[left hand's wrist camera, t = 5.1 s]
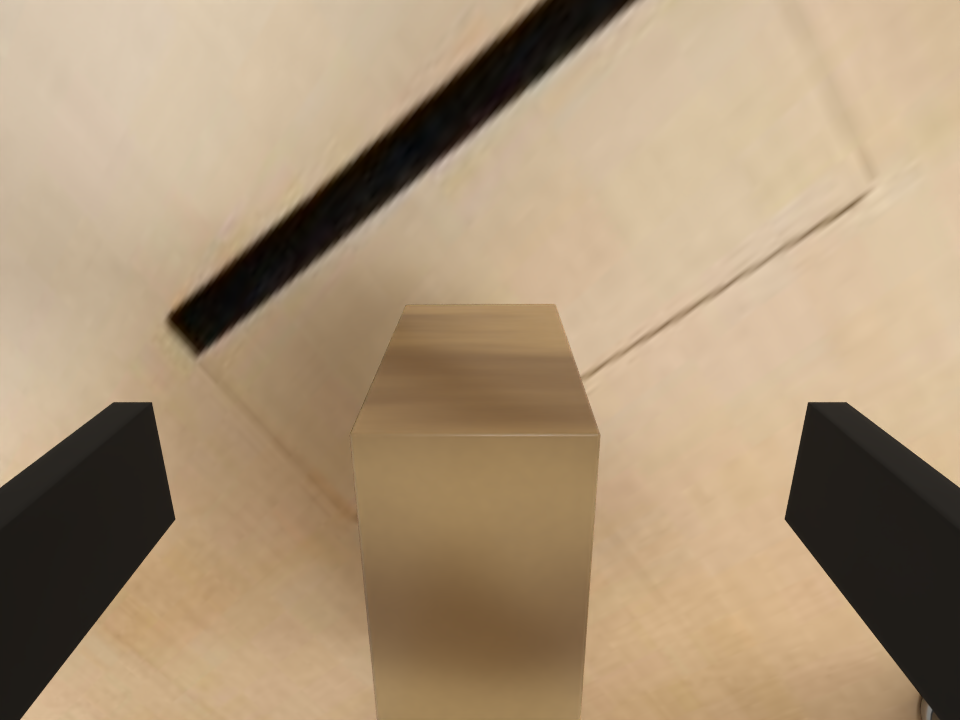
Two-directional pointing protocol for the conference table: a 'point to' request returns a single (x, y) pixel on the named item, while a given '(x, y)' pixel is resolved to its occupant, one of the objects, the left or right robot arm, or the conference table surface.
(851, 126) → the conference table surface
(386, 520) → the box
